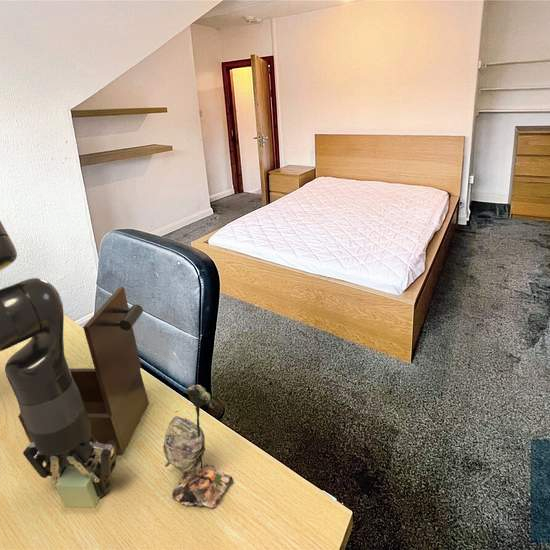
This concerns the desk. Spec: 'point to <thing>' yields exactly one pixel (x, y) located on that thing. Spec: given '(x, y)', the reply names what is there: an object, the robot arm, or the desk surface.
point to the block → (76, 489)
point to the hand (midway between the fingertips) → (86, 490)
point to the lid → (114, 347)
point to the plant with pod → (193, 457)
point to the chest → (102, 423)
